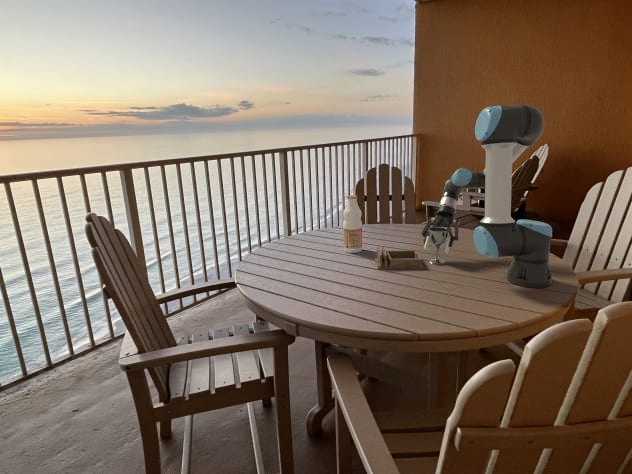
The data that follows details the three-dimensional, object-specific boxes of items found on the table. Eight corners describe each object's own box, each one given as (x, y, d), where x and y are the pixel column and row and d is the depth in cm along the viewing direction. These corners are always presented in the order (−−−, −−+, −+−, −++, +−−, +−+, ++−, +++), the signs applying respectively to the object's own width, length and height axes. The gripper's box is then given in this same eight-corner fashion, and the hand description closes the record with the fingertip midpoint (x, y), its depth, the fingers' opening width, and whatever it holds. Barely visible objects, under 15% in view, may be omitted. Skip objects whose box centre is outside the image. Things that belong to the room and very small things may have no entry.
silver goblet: (444, 258, 175) (445, 227, 171) (448, 264, 167) (450, 231, 163) (426, 258, 175) (427, 227, 172) (429, 264, 168) (431, 231, 164)
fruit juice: (339, 250, 193) (338, 196, 186) (352, 246, 199) (351, 193, 192) (353, 254, 186) (353, 197, 179) (366, 250, 192) (365, 195, 185)
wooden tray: (422, 268, 163) (422, 255, 161) (378, 269, 164) (378, 256, 162) (415, 258, 176) (416, 246, 175) (374, 259, 178) (374, 247, 176)
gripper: (472, 215, 173) (462, 258, 164) (425, 212, 184) (413, 252, 176) (470, 205, 167) (459, 250, 159) (422, 203, 179) (410, 244, 170)
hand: (435, 251), depth 167 cm, fingers open, 9 cm apart
